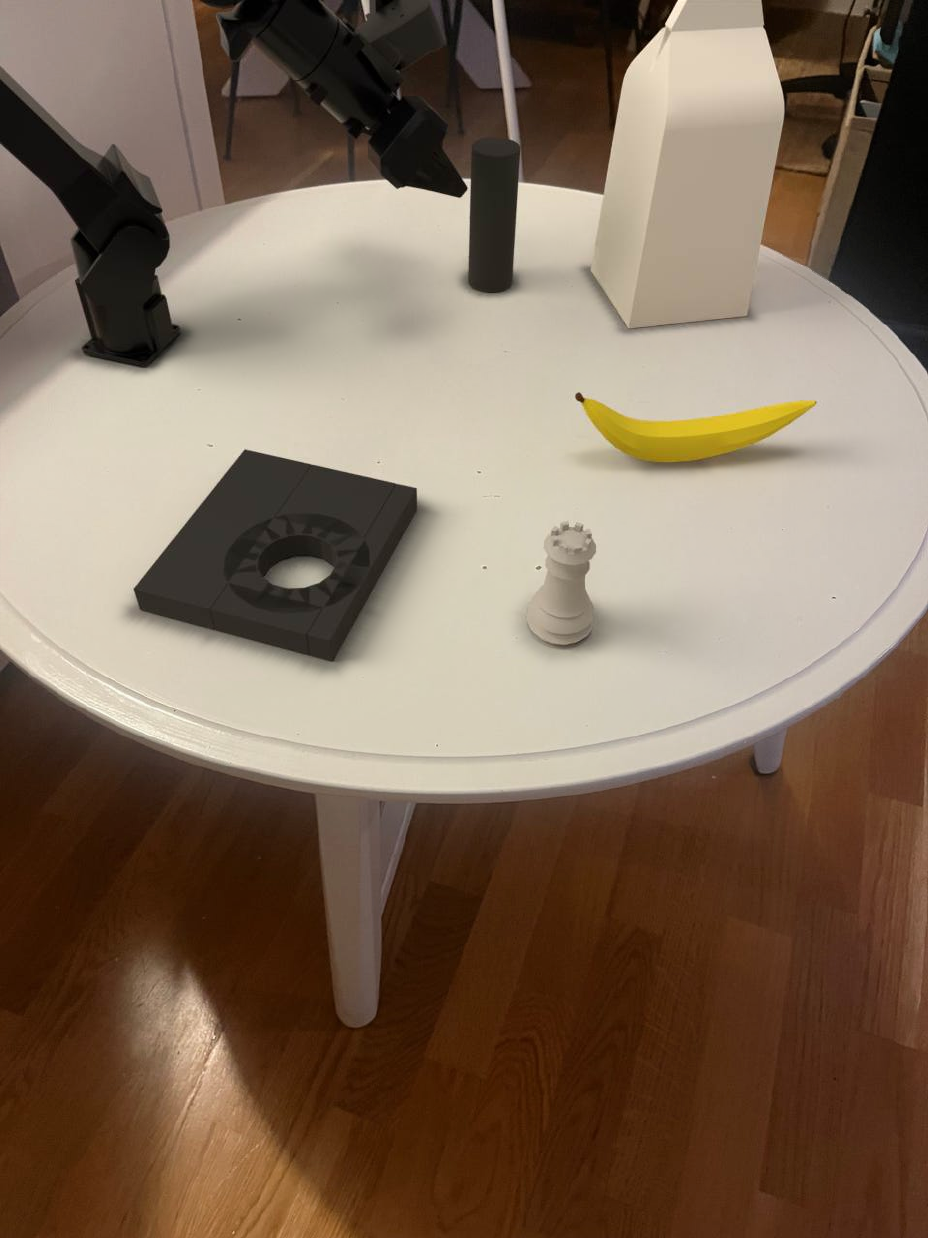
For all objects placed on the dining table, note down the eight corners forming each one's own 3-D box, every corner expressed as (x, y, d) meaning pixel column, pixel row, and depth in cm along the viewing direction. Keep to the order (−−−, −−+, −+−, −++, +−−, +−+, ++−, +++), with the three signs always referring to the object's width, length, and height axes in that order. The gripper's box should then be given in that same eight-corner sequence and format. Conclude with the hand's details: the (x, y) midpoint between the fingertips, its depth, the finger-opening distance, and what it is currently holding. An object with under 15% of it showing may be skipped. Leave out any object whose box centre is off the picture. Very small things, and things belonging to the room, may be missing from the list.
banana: (805, 464, 78) (828, 396, 73) (570, 473, 76) (579, 405, 72) (793, 442, 80) (815, 374, 75) (564, 451, 78) (572, 383, 74)
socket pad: (139, 610, 65) (132, 588, 64) (248, 469, 76) (244, 448, 74) (332, 661, 63) (330, 641, 61) (417, 508, 73) (417, 487, 72)
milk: (628, 328, 91) (678, 12, 72) (590, 270, 99) (626, -30, 80) (747, 315, 93) (825, 5, 74) (700, 259, 101) (761, -35, 82)
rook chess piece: (522, 601, 67) (530, 512, 61) (586, 598, 67) (601, 509, 61) (530, 650, 64) (540, 561, 58) (598, 647, 64) (614, 558, 58)
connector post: (462, 288, 96) (465, 151, 86) (475, 267, 99) (480, 133, 89) (505, 295, 95) (512, 158, 86) (517, 275, 98) (526, 140, 89)
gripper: (420, -10, 68) (551, 135, 79) (344, -73, 80) (468, 61, 91) (321, 123, 72) (459, 244, 83) (263, 44, 84) (390, 159, 94)
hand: (445, 171), depth 87 cm, fingers open, 9 cm apart
